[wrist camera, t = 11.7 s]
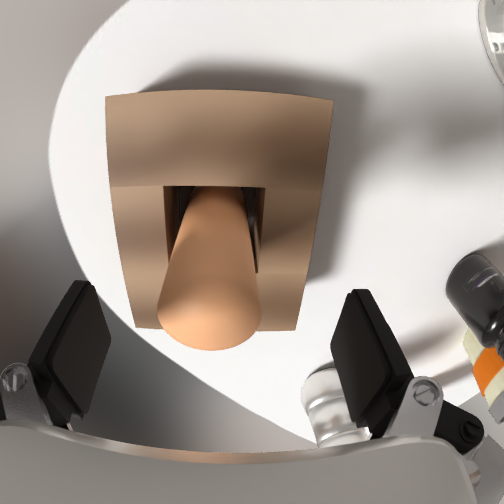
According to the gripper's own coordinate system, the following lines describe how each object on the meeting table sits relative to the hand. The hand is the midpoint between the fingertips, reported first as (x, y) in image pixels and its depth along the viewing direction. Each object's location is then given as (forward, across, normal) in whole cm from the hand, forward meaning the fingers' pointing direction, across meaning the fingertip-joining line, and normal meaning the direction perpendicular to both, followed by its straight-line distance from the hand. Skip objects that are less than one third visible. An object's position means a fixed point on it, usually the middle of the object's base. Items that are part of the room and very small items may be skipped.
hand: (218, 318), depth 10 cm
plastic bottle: (+13, -12, +23) cm, 29 cm away
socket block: (+12, +1, +1) cm, 13 cm away
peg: (+12, +1, +1) cm, 13 cm away
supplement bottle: (+13, -27, +8) cm, 31 cm away
